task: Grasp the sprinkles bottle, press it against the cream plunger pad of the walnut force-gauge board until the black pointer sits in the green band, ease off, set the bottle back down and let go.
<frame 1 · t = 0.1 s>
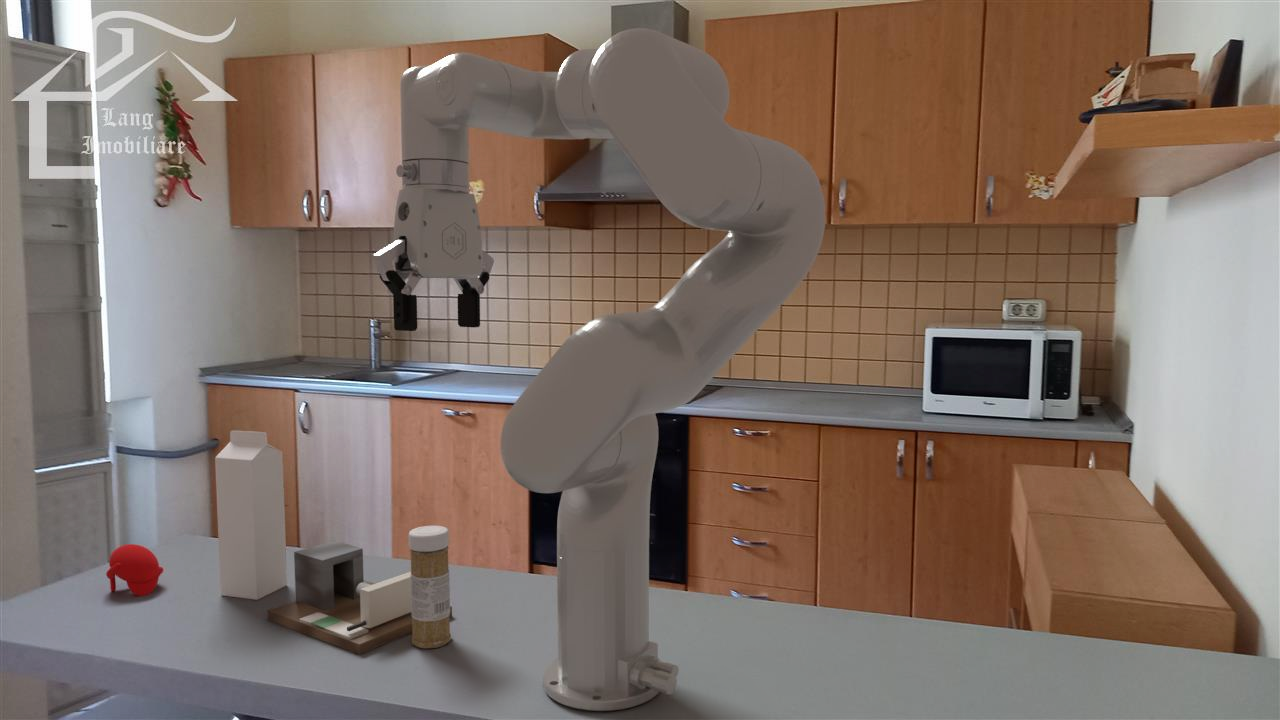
hand: (438, 328, 101), 37 cm above the countertop, tool pointing down, fingers open, 9 cm apart
milk: (254, 591, 119), on the countertop
cap: (135, 590, 119), on the countertop
gauge frame: (360, 617, 109), on the countertop
sprinkles bottle: (431, 643, 102), on the countertop
spring plunger: (370, 597, 106), point 4 cm above the countertop, slide at 0.0 cm
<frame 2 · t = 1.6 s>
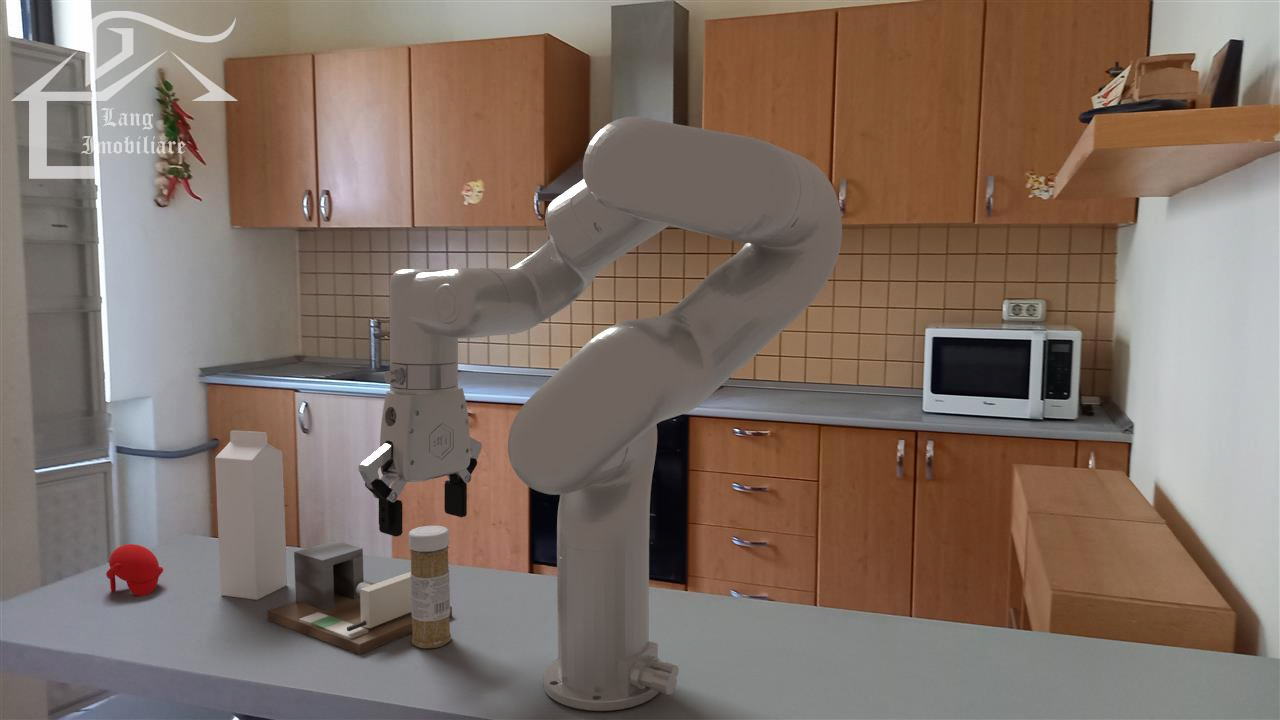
hand: (424, 524, 101), 14 cm above the countertop, tool pointing down, fingers open, 9 cm apart
nothing on the countertop moved.
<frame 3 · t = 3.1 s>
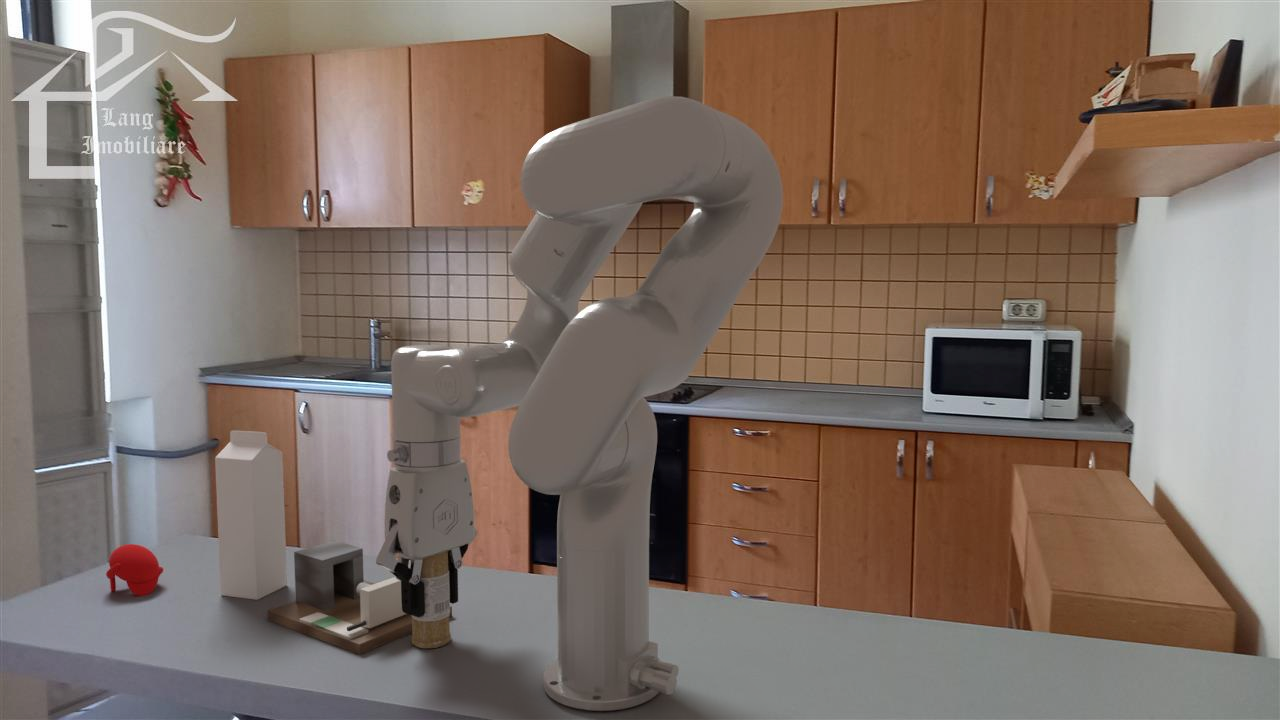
hand: (430, 605, 101), 4 cm above the countertop, tool pointing down, fingers closed on sprinkles bottle, 4 cm apart
sprinkles bottle: (431, 643, 102), on the countertop, touching gripper
everything else where it was.
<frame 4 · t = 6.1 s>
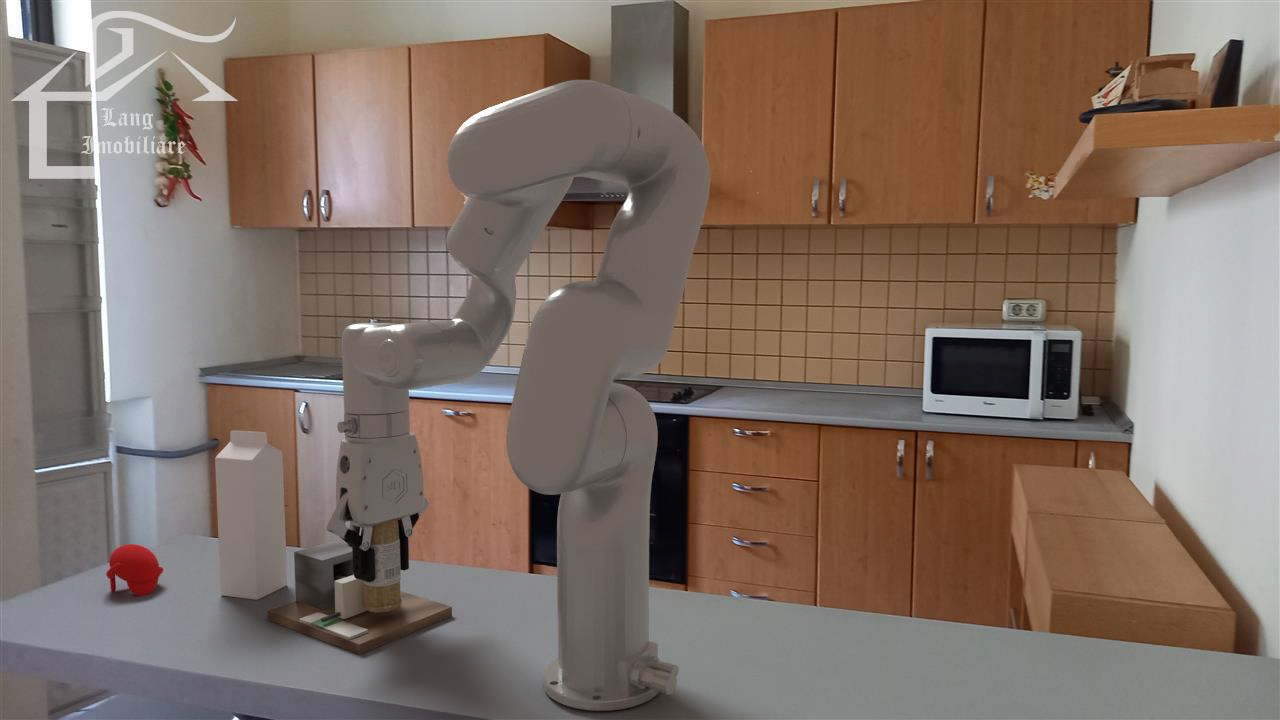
hand: (381, 572, 106), 7 cm above the countertop, tool pointing down, fingers closed on sprinkles bottle, 4 cm apart
sprinkles bottle: (382, 608, 106), point 2 cm above the countertop, touching gripper
spring plunger: (345, 589, 108), point 4 cm above the countertop, slide at 4.8 cm
everything else where it was.
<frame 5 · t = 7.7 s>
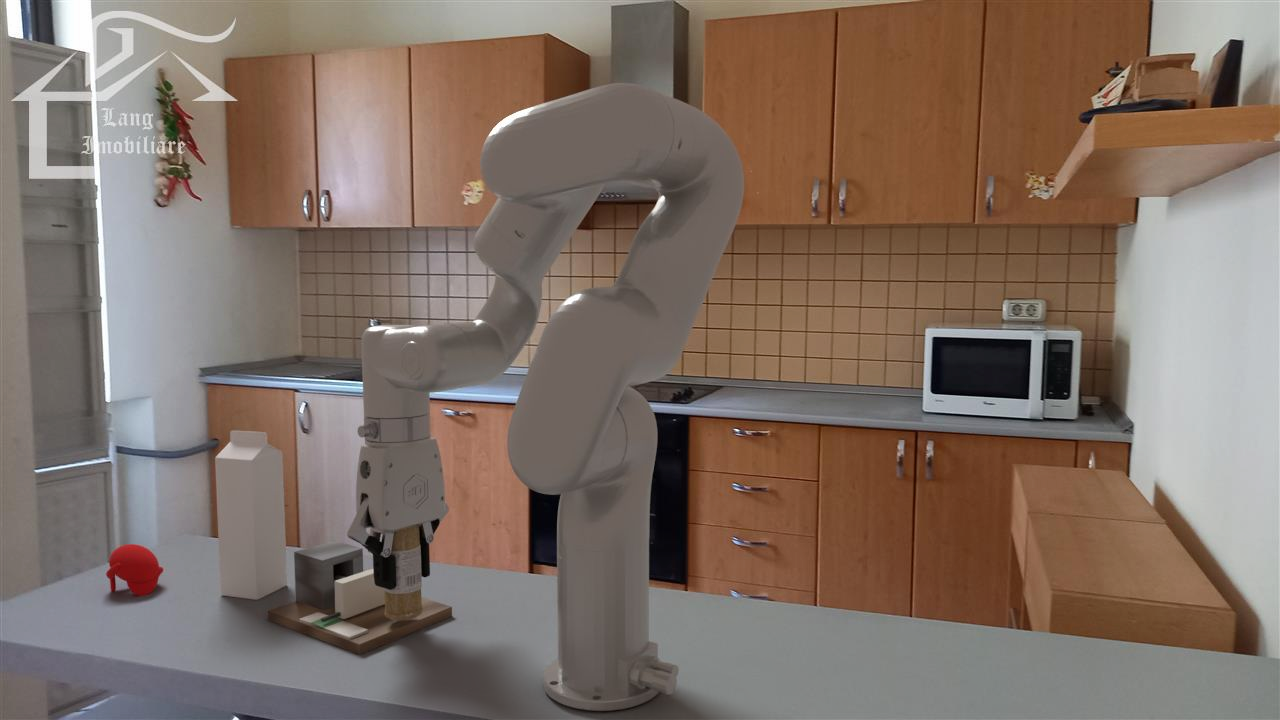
hand: (402, 579, 104), 7 cm above the countertop, tool pointing down, fingers closed on sprinkles bottle, 4 cm apart
sprinkles bottle: (403, 616, 104), point 2 cm above the countertop, touching gripper
everything else where it was.
when the fingers open (5 cm above the countertop, at t = 9.1 s): sprinkles bottle stays where it is, on the countertop.
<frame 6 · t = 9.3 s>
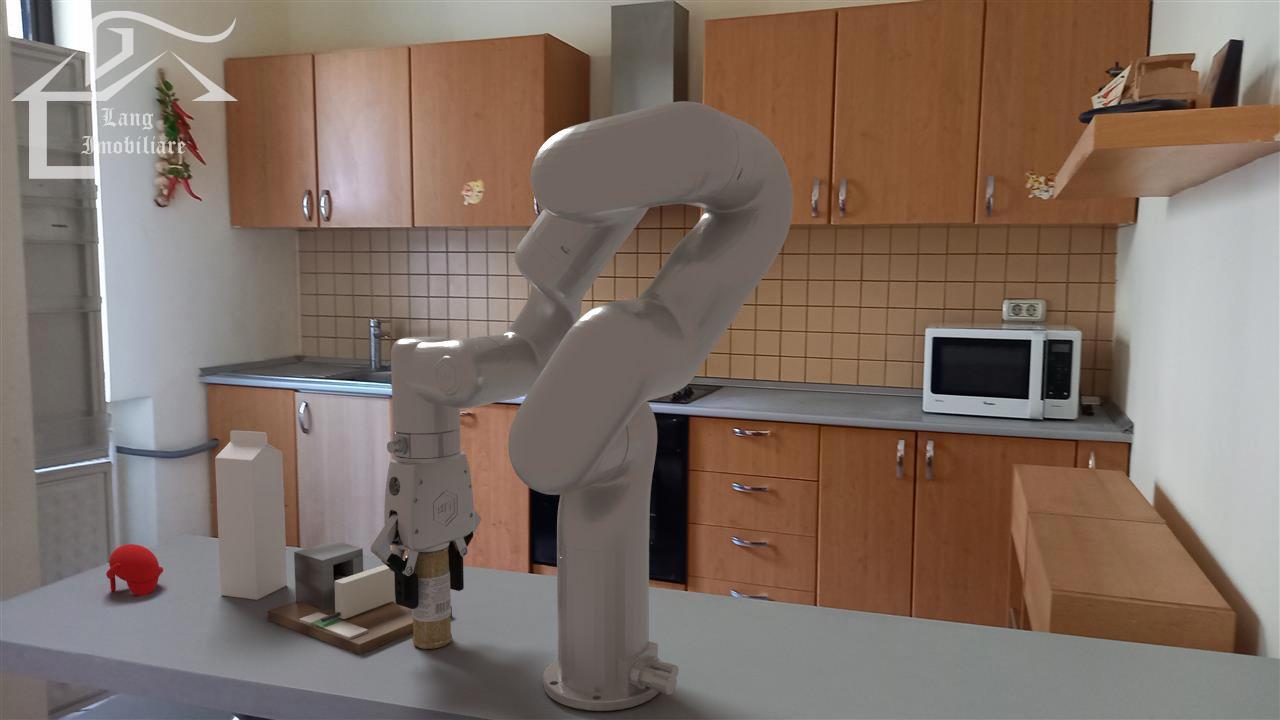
hand: (430, 595, 101), 6 cm above the countertop, tool pointing down, fingers open, 6 cm apart
sprinkles bottle: (432, 644, 101), on the countertop
everything else where it was.
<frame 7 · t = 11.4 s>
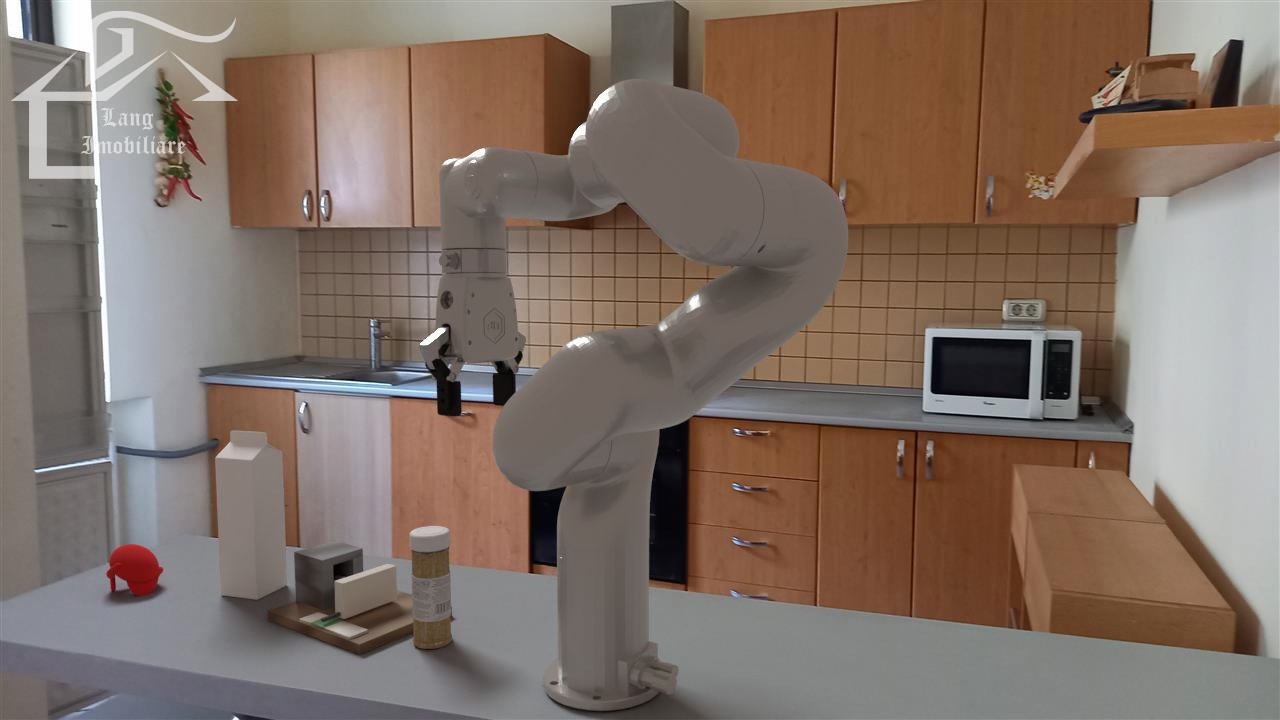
hand: (478, 410, 103), 27 cm above the countertop, tool pointing down, fingers open, 9 cm apart
nothing on the countertop moved.
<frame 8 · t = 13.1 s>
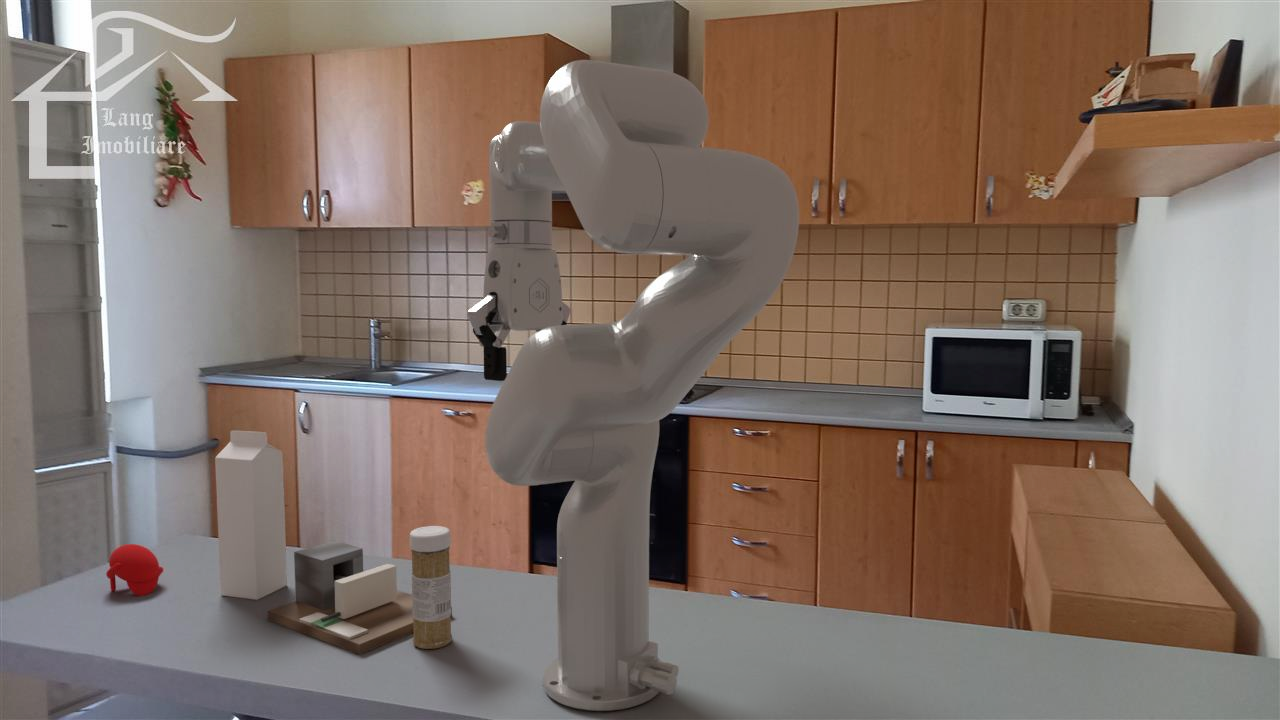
hand: (522, 376, 108), 30 cm above the countertop, tool pointing down, fingers open, 9 cm apart
nothing on the countertop moved.
at the end: spring plunger slide at 4.8 cm; sprinkles bottle tilted 0°; the gripper is holding nothing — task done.
